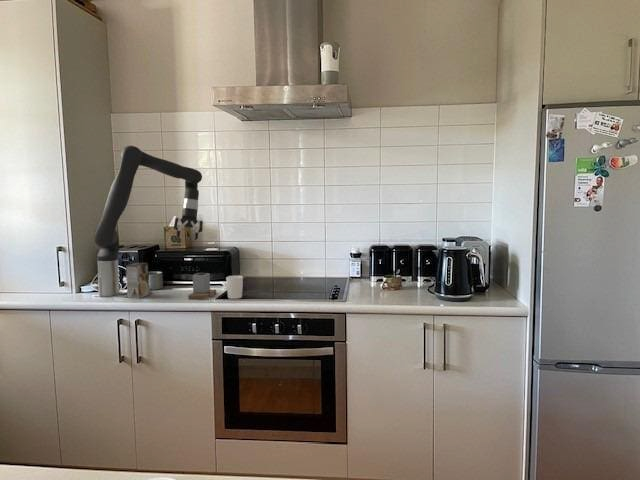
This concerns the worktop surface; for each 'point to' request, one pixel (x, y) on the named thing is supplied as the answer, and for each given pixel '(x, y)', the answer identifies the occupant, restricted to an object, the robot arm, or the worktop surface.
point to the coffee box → (137, 280)
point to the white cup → (234, 286)
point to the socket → (201, 283)
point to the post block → (202, 295)
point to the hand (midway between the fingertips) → (187, 239)
